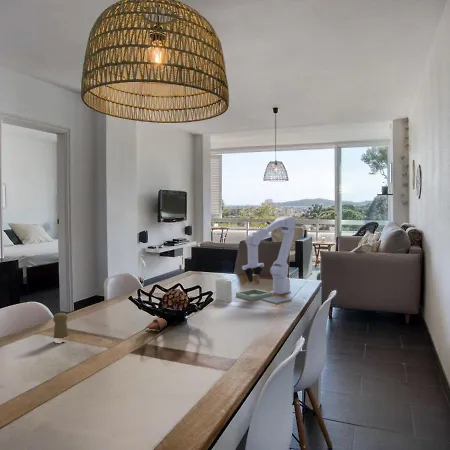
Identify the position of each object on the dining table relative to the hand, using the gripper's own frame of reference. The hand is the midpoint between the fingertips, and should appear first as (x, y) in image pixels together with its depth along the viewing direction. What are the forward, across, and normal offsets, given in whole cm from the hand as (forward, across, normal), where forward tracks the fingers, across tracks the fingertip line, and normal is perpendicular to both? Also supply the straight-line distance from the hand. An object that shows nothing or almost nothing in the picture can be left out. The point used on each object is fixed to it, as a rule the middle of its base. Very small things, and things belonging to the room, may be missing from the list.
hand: (253, 281), depth 218 cm
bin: (+9, 0, 0) cm, 9 cm away
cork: (+9, -102, -2) cm, 103 cm away
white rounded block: (+9, -17, +5) cm, 20 cm away
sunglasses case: (+10, -64, -10) cm, 65 cm away
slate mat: (+9, +3, -14) cm, 17 cm away
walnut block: (+2, 0, 0) cm, 2 cm away
